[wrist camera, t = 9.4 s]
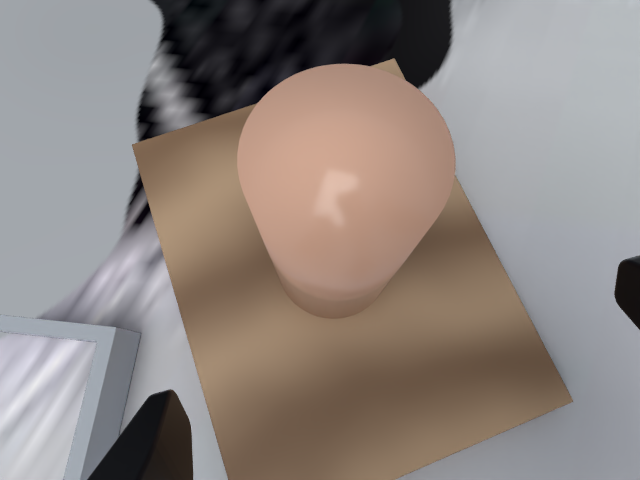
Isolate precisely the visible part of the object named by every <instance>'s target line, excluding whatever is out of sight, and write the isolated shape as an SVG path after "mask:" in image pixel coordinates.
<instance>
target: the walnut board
mask: <svg viewBox="0 0 640 480" xmlns="http://www.w3.org/2000/svg"><path fill="white" fill-rule="evenodd" d="M370 67H374V68H377V69H380V70H384V71H387V72H389V73H391V74H394V75H396V76H398V77H400V78H402V79H403V80H405V78H404V76H403V74H402V72H401V70H400V68H399V66H398V65H397V63H396V61H395V59H391V60H388V61H385V62H382V63H379V64H376V65H373V66H370ZM405 81H406V80H405ZM257 104H258V103H257ZM257 104H254V105H251V106H248V107H245V108H242V109H239V110H236V111H233V112H230V113H227V114H224V115H221V116H218V117H215V118H212V119H208V120H205V121H202V122H199V123H196V124H193V125H190V126H187V127H184V128H181V129H178V130H175V131H172V132H169V133H166V134H163V135H160V136H157V137H154V138H151V139H147V140H144V141H141V142H138V143H135V144H132V147H133V150H134V154H135V157H136V161H137V164H138V168H139V171H140V175H141V178H142V182H143V185H144V189H145V192H146V196H147V199H148V202H149V206H150V209H151V213H152V216H153V220H154V223H155V227H156V230H157V234H158V237H159V241H160V244H161V248H162V251H163V255H164V258H165V261H166V265H167V268H168V272H169V275H170V279H171V282H172V286H173V289H174V293H175V296H176V300H177V303H178V307H179V310H180V314H181V317H182V320H183V324H184V327H185V331H186V334H187V338H188V341H189V345H190V348H191V352H192V355H193V359H194V362H195V366H196V369H197V372H198V376H199V379H200V383H201V386H202V390H203V393H204V397H205V400H206V404H207V407H208V411H209V414H210V418H211V421H212V425H213V428H214V431H215V435H216V438H217V442H218V445H219V449H220V452H221V456H222V459H223V463H224V466H225V470H226V473H227V477H228V480H395V479H397V478H399V477H402V476H404V475H406V474H408V473H411V472H413V471H415V470H418V469H420V468H422V467H424V466H427V465H429V464H431V463H434V462H436V461H438V460H440V459H443V458H445V457H447V456H450V455H452V454H454V453H456V452H459V451H461V450H463V449H466V448H468V447H470V446H473V445H475V444H477V443H479V442H482V441H484V440H486V439H489V438H491V437H493V436H495V435H498V434H500V433H502V432H505V431H507V430H509V429H511V428H514V427H516V426H518V425H521V424H523V423H525V422H527V421H530V420H532V419H534V418H537V417H539V416H541V415H544V414H546V413H548V412H550V411H553V410H555V409H557V408H560V407H562V406H564V405H566V404H569V403H571V402H573V400H572V398H571V396H570V394H569V392H568V390H567V388H566V386H565V384H564V382H563V380H562V378H561V377H560V375H559V373H558V371H557V369H556V367H555V365H554V363H553V361H552V359H551V357H550V355H549V354H548V352H547V350H546V348H545V346H544V344H543V342H542V340H541V338H540V336H539V334H538V333H537V331H536V329H535V327H534V325H533V323H532V321H531V319H530V317H529V315H528V313H527V311H526V310H525V308H524V306H523V304H522V302H521V300H520V298H519V296H518V294H517V292H516V290H515V289H514V287H513V285H512V283H511V281H510V279H509V277H508V275H507V273H506V271H505V269H504V267H503V266H502V264H501V262H500V260H499V258H498V256H497V254H496V252H495V250H494V248H493V246H492V244H491V243H490V241H489V239H488V237H487V235H486V233H485V231H484V229H483V227H482V225H481V223H480V222H479V220H478V218H477V216H476V214H475V212H474V210H473V208H472V206H471V204H470V202H469V200H468V199H467V197H466V195H465V193H464V191H463V189H462V187H461V185H460V183H459V181H458V179H457V178H456V176H454V183H453V186H452V190H451V193H450V196H449V198H448V200H447V203H446V205H445V207H444V209H443V210H442V212H441V213H440V215H439V216H438V218H437V219H436V221H435V222H434V223H433V225H432V226H431V227H430V229H429V230H428V231H427V233H426V234H425V235H424V237H423V238H422V239H421V241H420V242H419V243H418V245H417V246H416V247H415V249H414V250H413V251H412V253H411V254H410V255H409V257H408V258H407V259H406V261H405V262H404V263H403V265H402V266H401V267H400V269H399V270H398V271H397V273H396V274H395V275H394V277H393V278H392V279H391V280H390V282H389V283H388V284H387V286H386V287H385V288H384V290H383V291H382V292H381V294H380V295H379V296H378V298H377V299H376V300H375V301H374V302H373V303H372V304H371V305H370V306H369V307H368V308H366V309H364V310H363V311H361V312H359V313H357V314H355V315H352V316H349V317H345V318H338V319H330V318H322V317H318V316H315V315H312V314H310V313H308V312H306V311H304V310H302V309H301V308H300V307H298V306H297V305H296V304H295V303H294V302H293V301H292V300H291V299H290V298H289V297H288V296H287V294H286V292H285V291H284V289H283V287H282V285H281V283H280V280H279V278H278V275H277V273H276V271H275V268H274V266H273V263H272V261H271V259H270V256H269V254H268V251H267V249H266V247H265V244H264V242H263V239H262V237H261V235H260V232H259V230H258V227H257V225H256V223H255V220H254V218H253V215H252V213H251V211H250V208H249V206H248V203H247V201H246V198H245V196H244V194H243V191H242V188H241V184H240V181H239V176H238V168H237V152H238V145H239V140H240V136H241V133H242V130H243V127H244V125H245V123H246V121H247V119H248V117H249V115H250V114H251V112H252V110H253V109H254V107H255V106H256V105H257Z"/></svg>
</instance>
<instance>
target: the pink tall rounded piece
mask: <svg viewBox="0 0 640 480" xmlns="http://www.w3.org/2000/svg"><path fill="white" fill-rule="evenodd" d="M237 168H238V176H239V181H240V184H241V188H242V191H243V194H244V196H245V198H246V201H247V203H248V206H249V208H250V211H251V213H252V215H253V218H254V220H255V223H256V225H257V227H258V230H259V232H260V235H261V237H262V239H263V242H264V244H265V247H266V249H267V251H268V254H269V256H270V259H271V261H272V263H273V266H274V268H275V271H276V273H277V275H278V278H279V280H280V283H281V285H282V287H283V289H284V291H285V292H286V294H287V296H288V297H289V298H290V299H291V300H292V301H293V302H294V303H295V304H296V305H297V306H298V307H300V308H301V309H302V310H304V311H306V312H308V313H310V314H312V315H315V316H318V317H322V318H330V319H338V318H345V317H349V316H352V315H355V314H357V313H359V312H361V311H363V310H364V309H366V308H368V307H369V306H370V305H371V304H372V303H373V302H374V301H375V300H376V299H377V298H378V296H379V295H380V294H381V292H382V291H383V290H384V288H385V287H386V286H387V284H388V283H389V282H390V280H391V279H392V278H393V277H394V275H395V274H396V273H397V271H398V270H399V269H400V267H401V266H402V265H403V263H404V262H405V261H406V259H407V258H408V257H409V255H410V254H411V253H412V251H413V250H414V249H415V247H416V246H417V245H418V243H419V242H420V241H421V239H422V238H423V237H424V235H425V234H426V233H427V231H428V230H429V229H430V227H431V226H432V225H433V223H434V222H435V221H436V219H437V218H438V216H439V215H440V213H441V212H442V210H443V209H444V207H445V205H446V203H447V200H448V198H449V196H450V193H451V190H452V186H453V183H454V176H455V152H454V145H453V141H452V138H451V135H450V132H449V129H448V127H447V125H446V123H445V121H444V119H443V117H442V116H441V114H440V113H439V111H438V110H437V108H436V107H435V106H434V105H433V103H432V102H431V101H430V100H429V99H428V98H427V97H426V96H425V95H424V94H423V93H422V92H421V91H420V90H418V89H417V88H415V87H414V86H413V85H411V84H410V83H409V82H407V81H405V80H403V79H402V78H400V77H398V76H396V75H394V74H391V73H389V72H387V71H384V70H380V69H377V68H374V67H369V66H364V65H356V64H332V65H325V66H319V67H315V68H312V69H308V70H305V71H303V72H300V73H297V74H295V75H293V76H291V77H289V78H287V79H286V80H284V81H282V82H281V83H279V84H278V85H277V86H275V87H274V88H272V89H271V90H270V91H269V92H268V93H267V94H266V95H265V96H264V97H263V98H262V99H261V100H260V101H259V102H258V104H257V105H256V106H255V107H254V109H253V110H252V112H251V114H250V115H249V117H248V119H247V121H246V123H245V125H244V127H243V130H242V133H241V136H240V140H239V145H238V152H237Z"/></svg>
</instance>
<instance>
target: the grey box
mask: <svg viewBox="0 0 640 480" xmlns="http://www.w3.org/2000/svg"><path fill="white" fill-rule="evenodd" d="M0 332H7V333H16V334H25V335H34V336H43V337H53V338H62V339H71V340H80V341H89V342H97V346H96V350H95V354H94V358H93V362H92V366H91V370H90V374H89V378H88V382H87V386H86V390H85V394H84V398H83V402H82V406H81V410H80V414H79V418H78V422H77V426H76V430H75V434H74V438H73V442H72V446H71V450H70V454H69V458H68V462H67V466H66V470H65V474H64V478H63V480H87V479H88V477H89V476H90V475H91V473H92V472H93V471H94V469H95V468H96V467H97V465H98V464H99V463H100V461H101V460H102V459H103V457H104V456H105V455H106V453H107V452H108V451H109V449H110V448H111V447H112V445H113V444H114V443H115V441H116V440H117V439H118V436H119V431H120V427H121V422H122V417H123V413H124V408H125V404H126V399H127V395H128V390H129V386H130V381H131V377H132V372H133V368H134V363H135V359H136V354H137V350H138V345H139V341H140V336H141V333H138V332H134V331H130V330H126V329H121V328H117V327H109V326H99V325H90V324H81V323H72V322H62V321H53V320H44V319H34V318H25V317H15V316H7V315H0Z"/></svg>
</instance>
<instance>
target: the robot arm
mask: <svg viewBox="0 0 640 480" xmlns="http://www.w3.org/2000/svg"><path fill="white" fill-rule="evenodd" d="M614 295H615V299H616V302H617V304H618V305H619V307H620V308H621V309H622V310H623V311H624V312H625V314H626V315H627V316H628V317H629V318H630V319H631V320H632V322H633V323H634V324H635V325H636V326H637V327H638V328H639V330H640V256H636V257H632V258H629V259H625V260H623V261H622V262H621V263H620V264H619V266H618V272H617V279H616V286H615V293H614ZM87 480H193V460H192V435H191V425H190V421H189V419H188V416H187V414H186V412H185V410H184V408H183V406H182V404H181V402H180V400H179V398H178V396H177V394H176V393H175V392H174V391H173V390H166V391H162V392H159V393H155V394H153V395H151V396H149V397H148V398H147V400H146V401H145V402H144V404H143V405H142V406H141V408H140V409H139V410H138V412H137V413H136V414H135V416H134V417H133V418H132V420H131V421H130V422H129V424H128V425H127V427H126V428H125V429H124V431H123V432H122V433H121V435H120V436H119V437H118V439H117V440H116V441H115V443H114V444H113V445H112V447H111V448H110V449H109V451H108V452H107V453H106V455H105V456H104V457H103V459H102V460H101V461H100V463H99V464H98V465H97V467H96V468H95V469H94V471H93V472H92V473H91V475H90V476H89V477H88V479H87Z"/></svg>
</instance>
